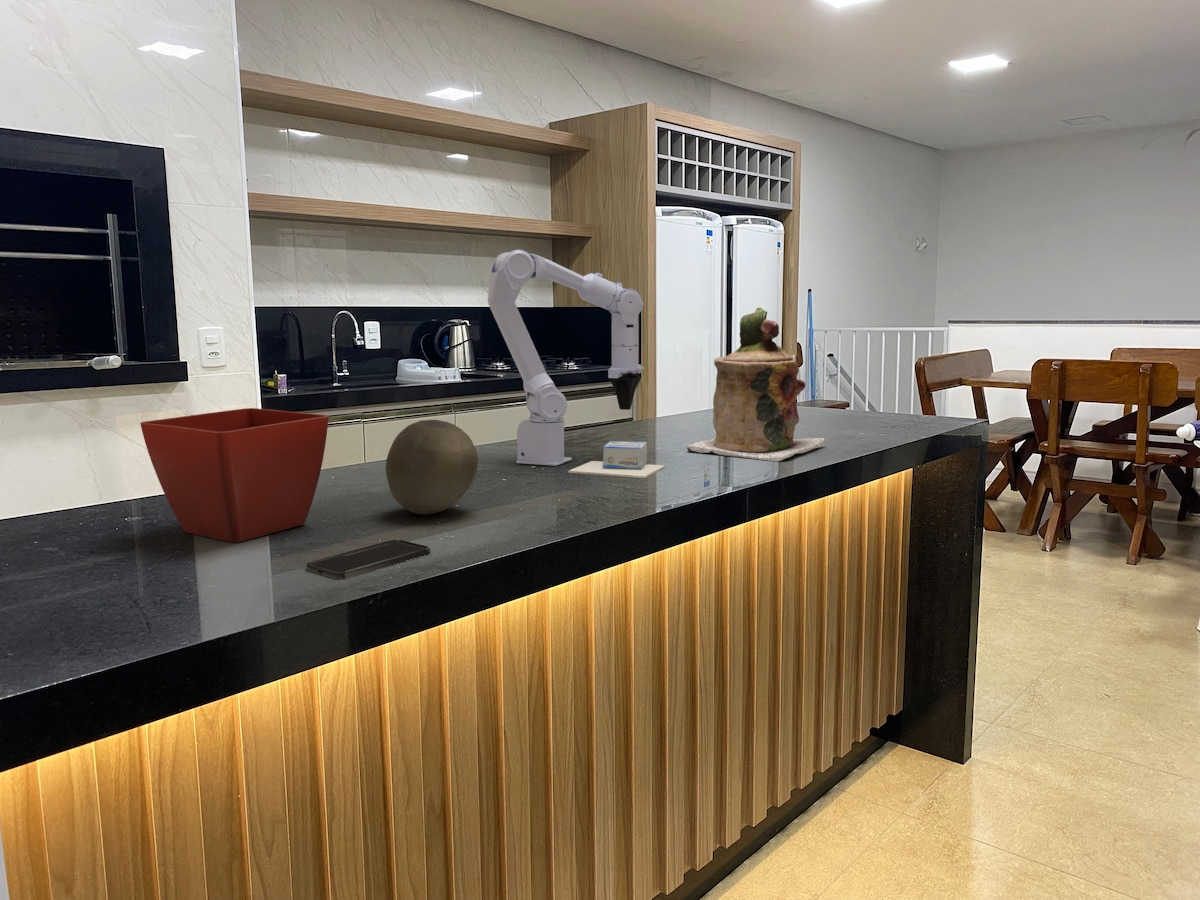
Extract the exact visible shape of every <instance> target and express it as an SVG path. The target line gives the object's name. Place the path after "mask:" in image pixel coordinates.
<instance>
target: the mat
mask: <svg viewBox="0 0 1200 900" xmlns="http://www.w3.org/2000/svg"><path fill="white" fill-rule="evenodd" d="M664 468H666V466H665V465H660V464H647V463H646V464H645V465H644V466H643V468H642V469H623V468H603V460H601V461H600V460H599V461H598V460H590V461H588V462H586V463H583V464H581V465H579V466H576V467H574V468H572V469H570V470H568V471H567V473H568V474H579V475H581V474H582V475H595V476H606V477H607V476H608V477H623V478H634V479H636V478H637V479H646V478H649V477H650V476H652V475H653V474H655V473H658V472H659V471H661V470H663V469H664Z"/></svg>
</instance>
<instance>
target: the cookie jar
mask: <svg viewBox="0 0 1200 900" xmlns="http://www.w3.org/2000/svg"><path fill="white" fill-rule="evenodd" d="M767 315H768V311H765V309H763V308H762V307H760V306H758V307H757V308H755V311H754V312H752V313H749V314H745V315H743V316H742V317H741V318H740V322H739V339H740V340H739V343H740V346H739V347H738V348H737V349H736V350H734V352H732V353H729V354H728V355H726V356H720V357H719V356H718V357H715V358H714V360H713V363H714V367H715V368H716V378H715V381H716V382H715V391H714V395H713V398H712V399H713V400H712V402H713V403H712V404H713V405H712V406H713V408H712V410H713V411H712V412H713V413H712V414H713V418H712V426H713V429H714V431H715V432H716V434H715V437H714V438H711V439H706V440H701V441H698V442H694V443H690V444H686V445H685V447H686V449H687V452H690V451H693V452H697V453H701V454H703V453H713V454H716V455H719V456H727V457H734V458H735V457H737V458H746V459H753V460H761V461H767V460H768V461H769V462H781V461H783V460H785V459H787V458H791V457H793V456H794V455H795V454H804V453H807V452H809V451H812V450H815V449H817V448H822V447H823V446H824V444H825V438H824V437H807V438H798V439H796V438H794V433H795V428H796V425H797V424H798V423H799V422H800V418H799V412H798V406H797V402H796V401H797V400H796V398H797V397H798V396H799V395H800V394H801V392H802V391H804V390H805V389H806V382H805V381H803V379H798V374H799V372H800V367H799V359H798V356H797V355H796V354H792V355H791V354H790V355H789V354H788V353H787V352H786V351H785V349H784V347H781V346H779V345H777V343H776V342H775V341H773V340H774V339H775V338H777V337H778V336H779V334H780V327H779V323H778V322H776V321H773V320H769V319H767Z"/></svg>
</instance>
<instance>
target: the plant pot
mask: <svg viewBox="0 0 1200 900" xmlns="http://www.w3.org/2000/svg"><path fill="white" fill-rule="evenodd" d="M140 427H141V432H142V436H143V440H144V444H145V446H146V450H147V453H148V456H149V459H150V461H151V464H152V466H153V467H152V468H153V469H154V471H155V475H156V477H157V479H158V483H159V484H160V487H161V489H162V490H163V493H164V495H165V498H166V500H167V502H168V505H170V508H171V510H172V511H173V514H174V516H175V518H176V519H177V521H178V523H179V525H180V526H181V528H182V531H183V532H185V533H188V534H192V535H197V536H202V537H206V538H209V539H216V540H219V541H224V542H230V543H241V542H245V541H249V540H252V539H256V538H260V537H262V536H266V535H270V534H273V533H277V532H281V531H285V530H289V529H292V528H295V527H299V526H303V525H305V524H306V521H307V519H308V515H309V513H310V510H311V507H312V504H313V500H314V497H315V494H316V491H317V486H318V483H319V481H320V475H321V472H322V471H321V469H322V465H323V460H324V456H325V448H326V444H327V443H326V442H327V434H328V427H329V415H327V414H320V413H319V414H317V413H307V412H299V411H288V410H287V411H286V410H277V409H265V408H258V407H256V408H255V407H252V408H251V407H249V408H248V407H245V408H241V409H239V408H238V409H231V410H223V411H216V412H207V413H200V414H192V415H184V416H183V415H182V416H177V417H176V416H175V417H169V418H168V417H167V418H162V419H155V420H154V419H153V420H147V421H146V420H145V421H141V422H140Z"/></svg>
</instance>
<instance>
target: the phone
mask: <svg viewBox="0 0 1200 900" xmlns="http://www.w3.org/2000/svg"><path fill="white" fill-rule="evenodd" d="M428 554H429V555H431V547H430V546H428V545H422V544H420V543H415V542H411V541H406V540H402V539H392V540H387V541H383V542H380V543H376V544H372V545H369V546H364V547H361V548H357V549H352V550H348V551H344V552H341V553H336V554H334V555H330V556H327V557H323V558H319V559H315V560H311V561H308V562H306V570H307V571H309V572H311V571H312V572H311V573H314V572H315V573H314V574H317V573H318V575H321V574H322V575H321V576H324V575H325V576H324V577H327V576H328V578H331V577H332V578H331V579H334V578H335V579H334V580H346V578H347V579H350V577H351V578H353V576H354V577H358V576H360V574H361V575H364V574H367V573H366V572H368V573H371V572H374V571H373V570H375V571H377V570H376V569H378V570H381V569H384V567H385V568H387V566H388V567H391V566H390V565H392V566H394V564H395V565H398V564H397V563H399V564H401V563H400V562H402V563H404V562H403V561H405V562H407V561H406V560H409V561H411V560H410V559H412V560H414V559H413V558H416V559H418V558H417V557H419V558H421V557H420V556H423V557H425V556H424V555H426V556H428ZM380 568H381V569H380ZM370 571H371V572H370ZM363 573H364V574H363ZM357 575H358V576H357Z"/></svg>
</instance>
